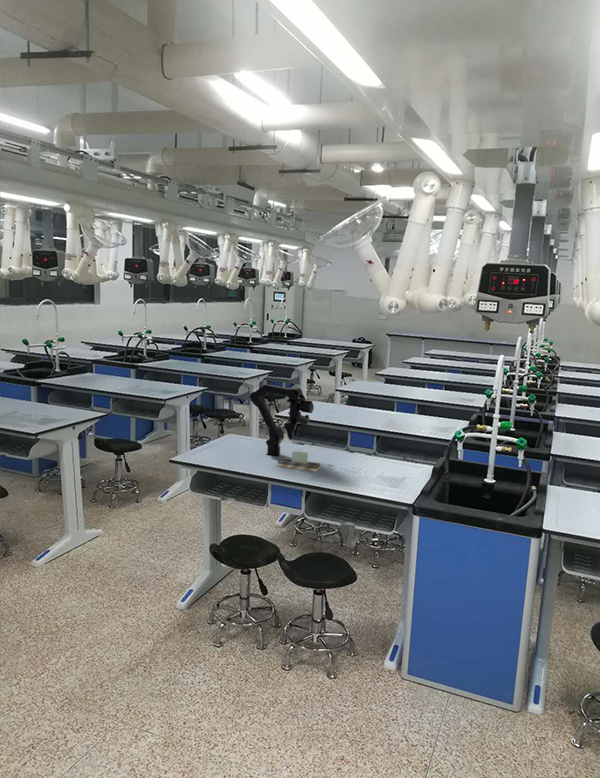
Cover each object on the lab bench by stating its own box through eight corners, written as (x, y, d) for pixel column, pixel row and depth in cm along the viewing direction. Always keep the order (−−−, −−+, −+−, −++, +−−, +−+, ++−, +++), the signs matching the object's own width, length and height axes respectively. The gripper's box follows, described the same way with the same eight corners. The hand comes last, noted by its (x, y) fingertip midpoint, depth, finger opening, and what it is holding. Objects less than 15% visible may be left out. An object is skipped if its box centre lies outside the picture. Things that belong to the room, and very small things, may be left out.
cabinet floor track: (277, 465, 311) (277, 461, 311) (282, 461, 320) (282, 457, 319) (316, 471, 305) (316, 467, 305) (320, 467, 314) (320, 462, 313)
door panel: (291, 464, 312) (292, 451, 311) (292, 463, 314) (293, 450, 313) (305, 466, 310) (306, 453, 309) (306, 465, 312) (307, 452, 311)
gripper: (303, 415, 311) (302, 443, 314) (313, 408, 329) (311, 435, 331) (284, 413, 314) (282, 440, 317) (294, 406, 332) (292, 433, 334)
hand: (293, 437), depth 325 cm, fingers open, 9 cm apart
